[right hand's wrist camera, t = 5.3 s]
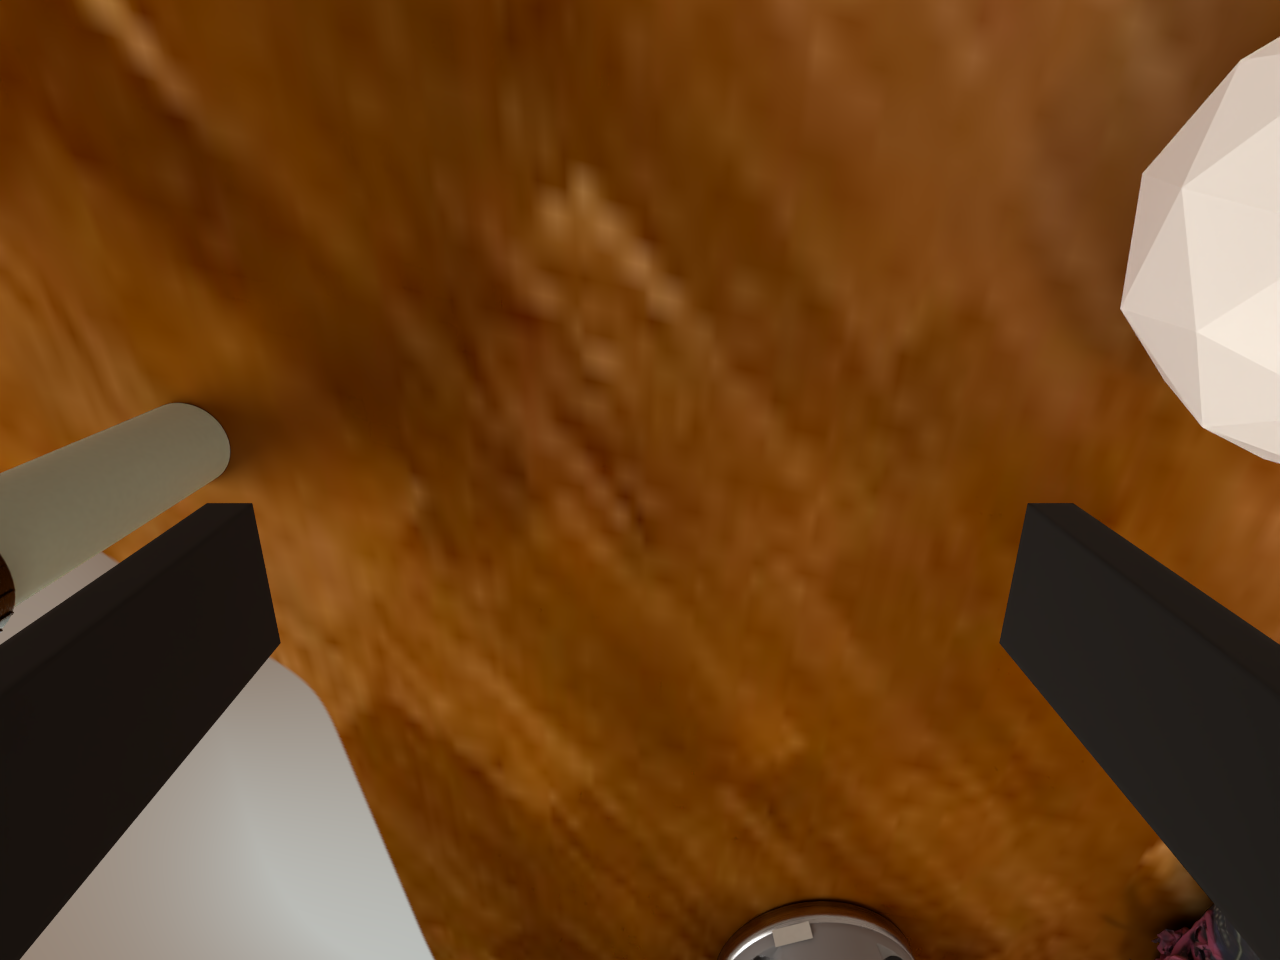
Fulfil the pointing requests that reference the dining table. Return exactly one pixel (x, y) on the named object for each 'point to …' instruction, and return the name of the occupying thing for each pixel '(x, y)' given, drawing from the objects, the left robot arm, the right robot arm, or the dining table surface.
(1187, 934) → the athletic shoe
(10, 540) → the pale green capped tube
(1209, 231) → the sphere
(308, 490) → the dining table surface
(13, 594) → the lid
